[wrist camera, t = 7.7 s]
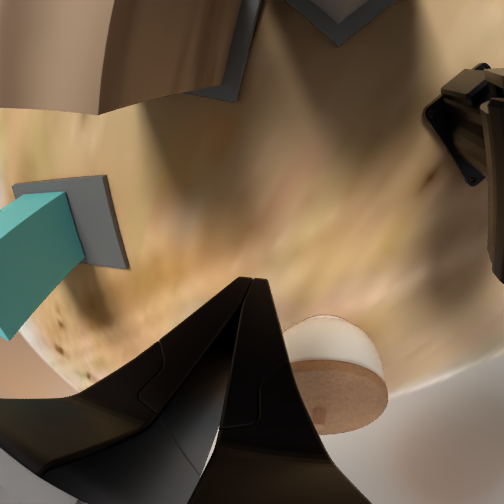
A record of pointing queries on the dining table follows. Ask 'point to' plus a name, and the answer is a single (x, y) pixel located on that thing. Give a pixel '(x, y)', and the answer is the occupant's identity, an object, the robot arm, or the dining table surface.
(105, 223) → the dark gray pads
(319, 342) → the lidded jar
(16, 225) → the teal block
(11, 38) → the walnut block
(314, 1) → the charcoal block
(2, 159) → the dining table surface
